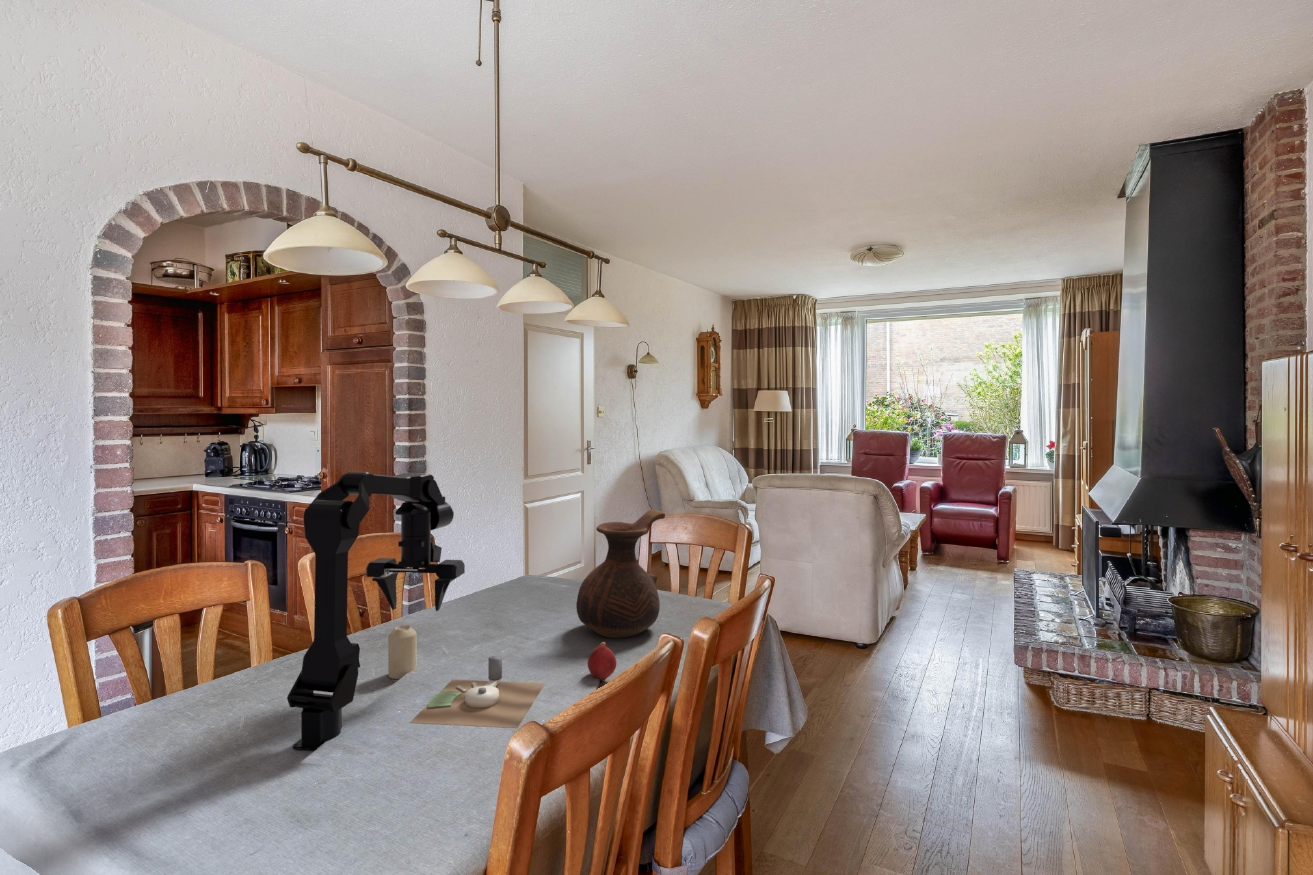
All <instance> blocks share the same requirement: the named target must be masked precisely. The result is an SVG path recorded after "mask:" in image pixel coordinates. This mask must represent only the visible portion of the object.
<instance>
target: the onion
mask: <svg viewBox="0 0 1313 875" xmlns="http://www.w3.org/2000/svg"><path fill="white" fill-rule="evenodd" d="M616 668H617V658H616V655H615V654H614V652H613V651H612V650H611V649H610V648H609V647H607V643H606V642H605V641H603V642H601V643H600V644H599V645H598V646H597V647H595V648H594V649H593V650H592V652H591V653H590V654H589V656H588V659H587V669H588V671H589V673H590V674H591V675H592V676H593V677H594V678H597V679H599V681H601V682H604V681H606V680H607V679H608V678H609V677H611V676H612V674H614V672H615V670H616Z"/></svg>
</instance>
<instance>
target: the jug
mask: <svg viewBox="0 0 1313 875" xmlns="http://www.w3.org/2000/svg"><path fill="white" fill-rule="evenodd" d="M665 517H666V513H664V512H663V511H661V510H658V509H649V510H647V511H646V512H645V513H643V515H641V516H640V517H639V518H638V519H637V520H635V521H634V522H632V523H629V522H622V521H609V522H603V523H601V524H599V525H598V526H596V531H597V532H598V533H600V534H603V535H604V536H605V539H606V540H607V546H608V547H607V548H608V549H607V553H606V556H605V560H604V561H603V562H602V563H600V564H598V565H597V566H596V567H595V568H593V569H592V570H591V571H590V572H589V574H587V576H586V577H585V578H584V579H583V580H582V582H581V584H580V586H579V589H578V592H577V598H576V614H577V616H578V619H579V621H580V622H581V623H582V624H583V625H585V626H586V627H587V628H590V630H592V631H594V632H595V633H596V634H598V635H601V636H602V637H605V638H611V639H620V638H621V639H622V638H629V637H634V636H636V635H639V634H641V633H642V632H643V633H644V631H646V630H647V629H649V628H650V627H651V626H653V624H655V622H656V621H657V619H658V618H659V615H660V611H661V610H660V607H661V606H660V605H661V603H660V597H659V593H658V589H657V580H658V577H657V576H656V575H655V574H653V573H651V572H650V571H646V570H645V569H644V568H643V567H642V566H641V565H640V564H639V561H638V560H637V557H636V545H637V542H638V540H639V539H640V538H641V537H643V536H644V535H648V533H649V531H650V528H652V525H653V524H654V522H656V521H658V520H664V519H665Z"/></svg>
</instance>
